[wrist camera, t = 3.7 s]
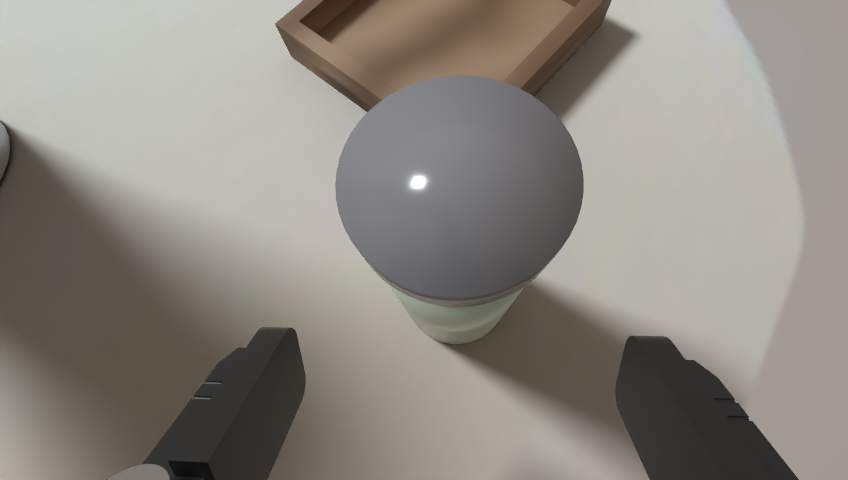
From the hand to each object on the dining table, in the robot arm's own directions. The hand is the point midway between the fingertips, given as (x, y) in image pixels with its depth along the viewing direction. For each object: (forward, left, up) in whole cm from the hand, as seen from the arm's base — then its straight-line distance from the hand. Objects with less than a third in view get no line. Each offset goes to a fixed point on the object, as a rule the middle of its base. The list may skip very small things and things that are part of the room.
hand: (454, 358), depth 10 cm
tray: (-13, +15, -9) cm, 22 cm away
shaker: (-2, +3, -9) cm, 10 cm away
